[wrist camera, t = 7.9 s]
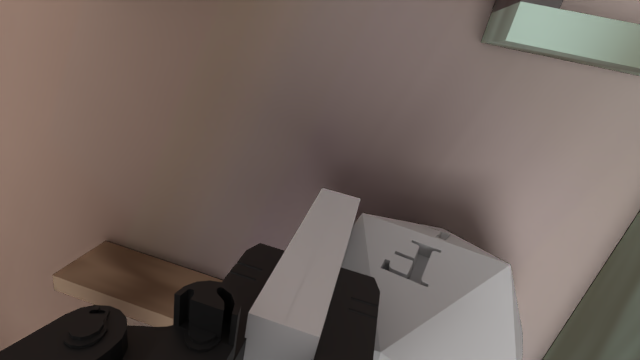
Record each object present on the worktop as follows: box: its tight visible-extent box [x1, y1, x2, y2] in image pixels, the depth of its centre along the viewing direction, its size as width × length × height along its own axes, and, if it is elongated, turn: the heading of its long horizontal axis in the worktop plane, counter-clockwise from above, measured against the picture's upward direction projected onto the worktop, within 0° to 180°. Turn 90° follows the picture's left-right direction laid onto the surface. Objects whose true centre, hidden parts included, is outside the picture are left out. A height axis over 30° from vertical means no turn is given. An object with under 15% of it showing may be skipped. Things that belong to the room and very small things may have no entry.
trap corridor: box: [52, 0, 640, 360], centre depth 14 cm, size 27×27×4 cm
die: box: [342, 213, 523, 360], centre depth 13 cm, size 8×9×10 cm
